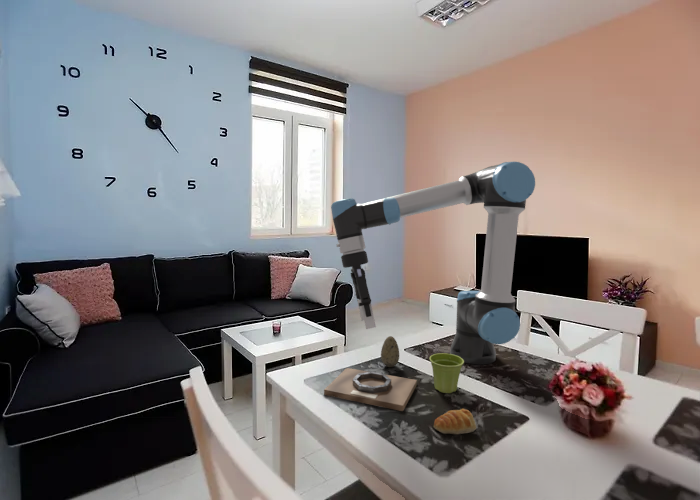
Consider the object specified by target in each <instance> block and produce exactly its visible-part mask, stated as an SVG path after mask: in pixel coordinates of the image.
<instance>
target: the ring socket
mask: <svg viewBox="0 0 700 500" xmlns="http://www.w3.org/2000/svg"><path fill="white" fill-rule="evenodd" d="M386 375H387V374H385V373H381V372H376V371H368V372H365V373H359V374H357V375H356V376H355V378H354V379H353V385H354V387H355V388H356V389H357V390H358V391H362V392H367V393H372V394H375V393H380V392H385V391H387V390H388V389H389V387H390V386H391V379H390V378H389V377H387V376H386ZM369 378H373V379H379V380H382V381H384V382H385V384H384V385H379V386H368V385H362V384H361V383H360V382H359V381H360V380H363V379H369Z"/></svg>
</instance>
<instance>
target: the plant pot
mask: <svg viewBox="0 0 700 500" xmlns="http://www.w3.org/2000/svg"><path fill="white" fill-rule="evenodd" d="M429 362H430V363H431V367H432V374H433V375H432V376H433V385H434V389H435V390H437V391H439V392H440V393H443V394H452V393H453V392H454V393H455V392H456V391H457V389H458V388H457V387H458V383H459V378H460V373H461V369H462V367H463V365H464V363H465V362H464V360H463V359H462V358H461V357H459V356H456V355H453V354H450V353H446V352H444V353H442V352H441V353H434V354H432V355H430V356H429Z"/></svg>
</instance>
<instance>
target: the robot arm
mask: <svg viewBox="0 0 700 500" xmlns="http://www.w3.org/2000/svg"><path fill="white" fill-rule="evenodd" d="M535 187H536V177H535V174H534V172H533V171H532V170H531V169H530V167H529V166H527V165H526V164H525V163H522V162H521V161H504V162H502V163H499V164H496V165H491V166H488V167H485V168H483V169H480V170H478V171H475V172H472V173H470V174H467V175H463V176H460V177H459V179H458V180H455V181H451V182H446V183H441V184H439V185H433V186H430V187H427V188H425V187H424V188H422V189H416V190H414V191H413V190H412V191H410V192H405V193H399V194H397V195H393V196H388V197H385V198H381V199H380V198H379V199H376V200H369V201H366V202H364V203H357V201H356V199H355V198H352V197H351V198H345V199H338V200H336V201H334V202H332V203H331V206H330V209H331V216H332V222H333V226H334V230H335V234H336V239H337V242H338V243H337V244H336V247H337V248H339V252H340V254H342V255H341V257H340V258H341V263H342V267H343V268H344V269H345V268H346V269H347V268H350V277H351V279H352V284H353V286H354V292H355V296H356V302H357V306H358V310H359V316H360V320H361V321H362V322H364V324H365V325H364V326H365V329H366V330H369V329H373V328H376V327H377V326H376V321H375V317H374V312H373V306H372V299H371V295H370V293H369V292H370V291H369V288H368V284H367V278H366V272H365V270H364V268H363V267H362V265H366V264H368V263H369V259H368V254H367V251H366V250H365V249H366V247H367V246H366V245H365V238H364V235H363V230H367V229H371V228H376V227H381V226H382V227H383V226H386V225H391V224H394V223H399V221H400V220H401V219H402V218H406V217H410V216H414V215H418V214H423V213H427V212H430V211H431V212H433V211H436V210H439V209H444V208H447V207H453V206H456V205H461V204H464V205H466V206H469V205H472V204H473V205H474V204H483V209H485V211H486V212H487V214H488V215H487V223H486V225H487V226H486V235H485V245H484V256H483V265H482V266H483V267H482V274H481V275H482V276H481V285H480V286H481V288H480V290H461V291H459V292H458V294H457V299H456V321H455V323H456V324H455V325H456V327H455V329H456V330H455V335H454V338H453V340H452V343H451V344H450V350H449V354H453V355H456V356H459V357H461V358H462V359H463V360H464V363H466V364H471V365H487V364H493V363H494V362H495V361H496V358H497V357H496V356H497V352H496V349H495V345H504V344H506V343H510V342H511V341H512V340H513V339H515V337H516V336H517V335H518V333H519V331H520V329H521V320H520V316H519V315H518V314H517V312H516V311H515V306H516V299H515V297H514V296H513V295H512V293H511V292H512V282H513V275H514V274H513V273H514V266H515V265H514V264H515V263H514V262H515V256H516V255H515V254H516V245H517V234H518V227H519V218H520V217H519V216H520V214H521V213H523V212H524V211H525V210H526V203H527V200H528V199H529V198H531V197H530V196H532V195H533V193H534V190H535V189H536V188H535Z"/></svg>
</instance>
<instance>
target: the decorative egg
mask: <svg viewBox="0 0 700 500" xmlns="http://www.w3.org/2000/svg"><path fill="white" fill-rule="evenodd" d="M380 359H381V362H382V363H383V365H384V366H385V367H388V368H393V367H395V366H396V365H397V364H398V362H399V361H400V348H399V345H398V342H397V340H396V339H395V337H394V336H391V335H390V336H388V337H386V339H384V342H383V343H382V346H381V351H380Z"/></svg>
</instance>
